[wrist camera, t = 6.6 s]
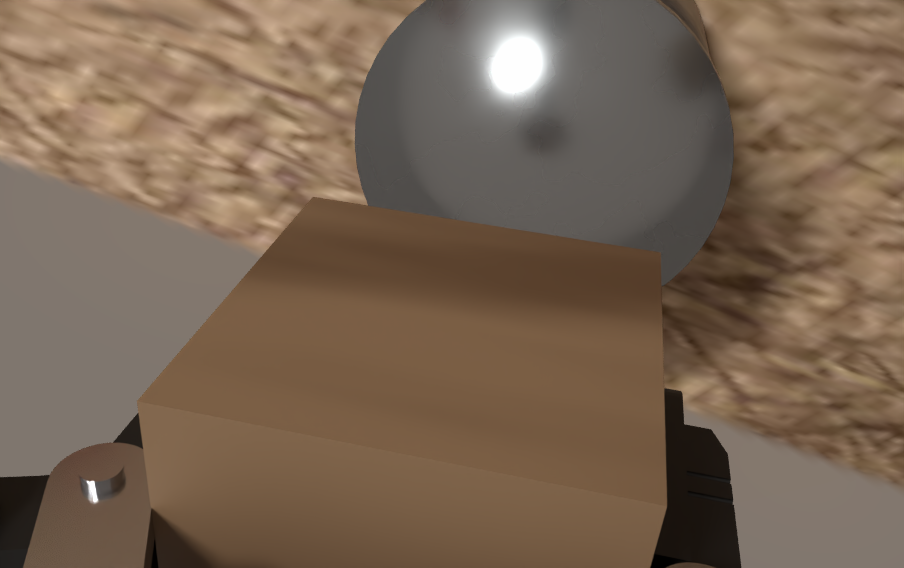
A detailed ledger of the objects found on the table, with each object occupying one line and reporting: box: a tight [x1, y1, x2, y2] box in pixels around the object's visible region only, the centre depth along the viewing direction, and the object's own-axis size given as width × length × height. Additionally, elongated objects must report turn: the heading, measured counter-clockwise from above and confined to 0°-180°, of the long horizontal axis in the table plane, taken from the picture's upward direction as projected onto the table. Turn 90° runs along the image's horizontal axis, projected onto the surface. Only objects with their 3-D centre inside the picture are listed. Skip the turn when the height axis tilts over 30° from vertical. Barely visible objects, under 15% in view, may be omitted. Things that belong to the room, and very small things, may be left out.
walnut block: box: [137, 197, 667, 568], centre depth 12 cm, size 6×6×6 cm
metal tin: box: [355, 0, 734, 286], centre depth 28 cm, size 10×10×9 cm
